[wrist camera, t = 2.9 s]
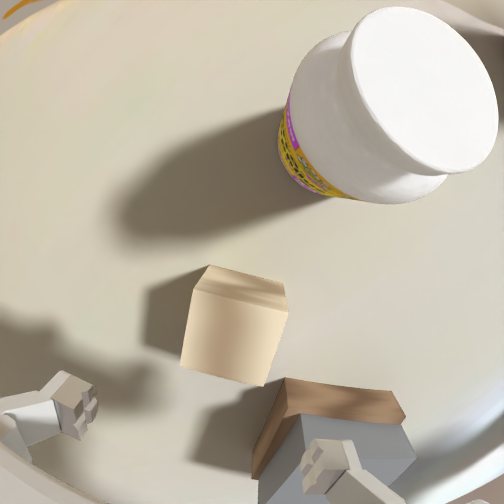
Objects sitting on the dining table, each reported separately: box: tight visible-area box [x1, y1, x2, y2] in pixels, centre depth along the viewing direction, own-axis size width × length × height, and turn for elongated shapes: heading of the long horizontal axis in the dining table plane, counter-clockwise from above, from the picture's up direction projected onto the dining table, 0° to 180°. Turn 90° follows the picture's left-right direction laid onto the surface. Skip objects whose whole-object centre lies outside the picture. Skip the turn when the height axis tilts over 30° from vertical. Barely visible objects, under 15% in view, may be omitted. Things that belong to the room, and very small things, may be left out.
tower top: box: [258, 413, 417, 504], centre depth 17 cm, size 9×9×4 cm
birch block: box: [180, 265, 289, 387], centre depth 18 cm, size 5×5×5 cm
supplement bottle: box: [278, 6, 498, 204], centre depth 11 cm, size 7×7×13 cm
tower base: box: [251, 377, 406, 480], centre depth 21 cm, size 10×10×4 cm
